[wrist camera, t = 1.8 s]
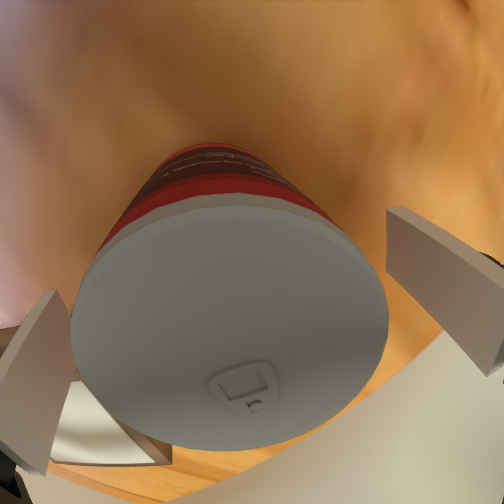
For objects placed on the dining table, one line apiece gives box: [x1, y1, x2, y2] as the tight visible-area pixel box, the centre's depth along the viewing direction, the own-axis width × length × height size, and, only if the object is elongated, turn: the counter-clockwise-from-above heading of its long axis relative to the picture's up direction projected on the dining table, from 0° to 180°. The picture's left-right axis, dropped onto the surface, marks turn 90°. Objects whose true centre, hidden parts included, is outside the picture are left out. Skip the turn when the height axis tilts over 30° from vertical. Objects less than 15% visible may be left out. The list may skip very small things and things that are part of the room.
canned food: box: [70, 143, 389, 451], centre depth 11 cm, size 8×8×11 cm
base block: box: [0, 315, 172, 467], centre depth 18 cm, size 12×12×5 cm
